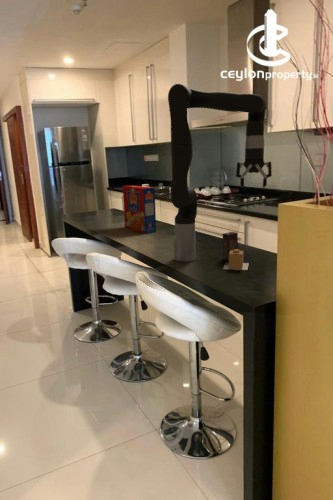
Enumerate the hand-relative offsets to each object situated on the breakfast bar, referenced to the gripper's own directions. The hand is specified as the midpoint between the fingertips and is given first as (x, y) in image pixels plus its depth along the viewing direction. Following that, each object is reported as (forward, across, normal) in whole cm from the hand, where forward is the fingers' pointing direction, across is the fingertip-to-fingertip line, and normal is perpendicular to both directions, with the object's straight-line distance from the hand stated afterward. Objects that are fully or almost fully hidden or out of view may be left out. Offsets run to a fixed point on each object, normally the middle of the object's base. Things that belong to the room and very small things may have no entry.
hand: (253, 187), depth 162 cm
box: (+33, -10, +7) cm, 35 cm away
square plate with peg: (+33, -6, -6) cm, 34 cm away
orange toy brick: (+33, -6, -6) cm, 34 cm away
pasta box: (+33, -75, +68) cm, 107 cm away
